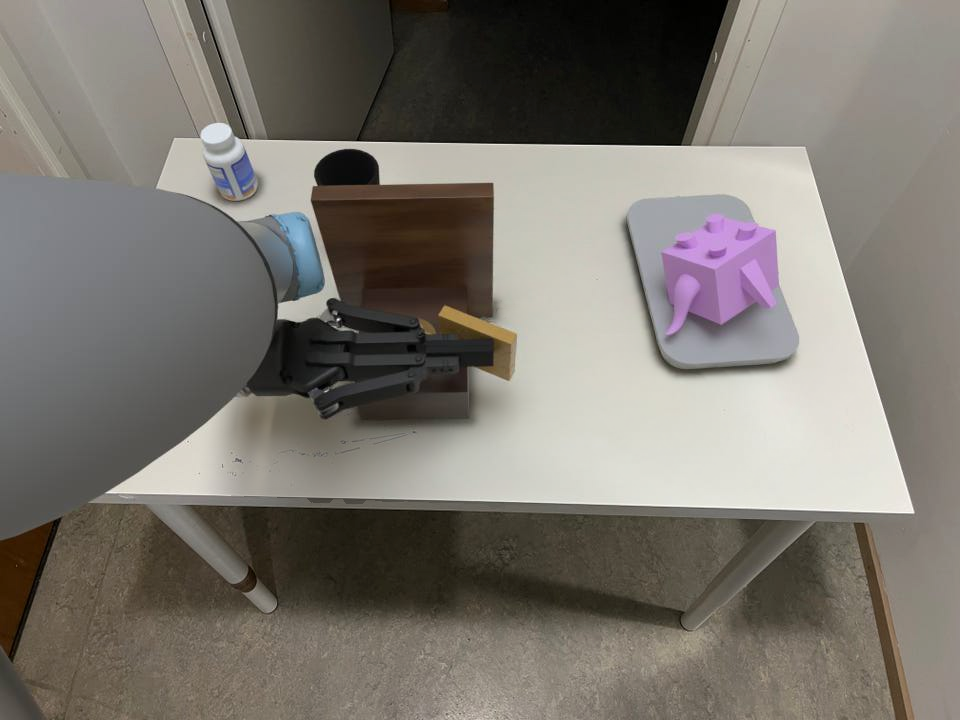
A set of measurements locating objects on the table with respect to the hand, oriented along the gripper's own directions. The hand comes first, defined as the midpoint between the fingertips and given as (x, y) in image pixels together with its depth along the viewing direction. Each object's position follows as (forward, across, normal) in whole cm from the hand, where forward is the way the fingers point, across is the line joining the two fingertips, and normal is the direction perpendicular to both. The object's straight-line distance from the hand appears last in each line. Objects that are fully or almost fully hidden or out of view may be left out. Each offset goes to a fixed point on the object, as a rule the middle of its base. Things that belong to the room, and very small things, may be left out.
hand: (493, 352), depth 67 cm
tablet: (+27, +17, +12) cm, 34 cm away
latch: (-4, +4, +6) cm, 8 cm away
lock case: (-9, +6, +12) cm, 16 cm away
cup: (-16, +26, +12) cm, 33 cm away
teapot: (+25, +15, 0) cm, 29 cm away
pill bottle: (-34, +36, +12) cm, 51 cm away
